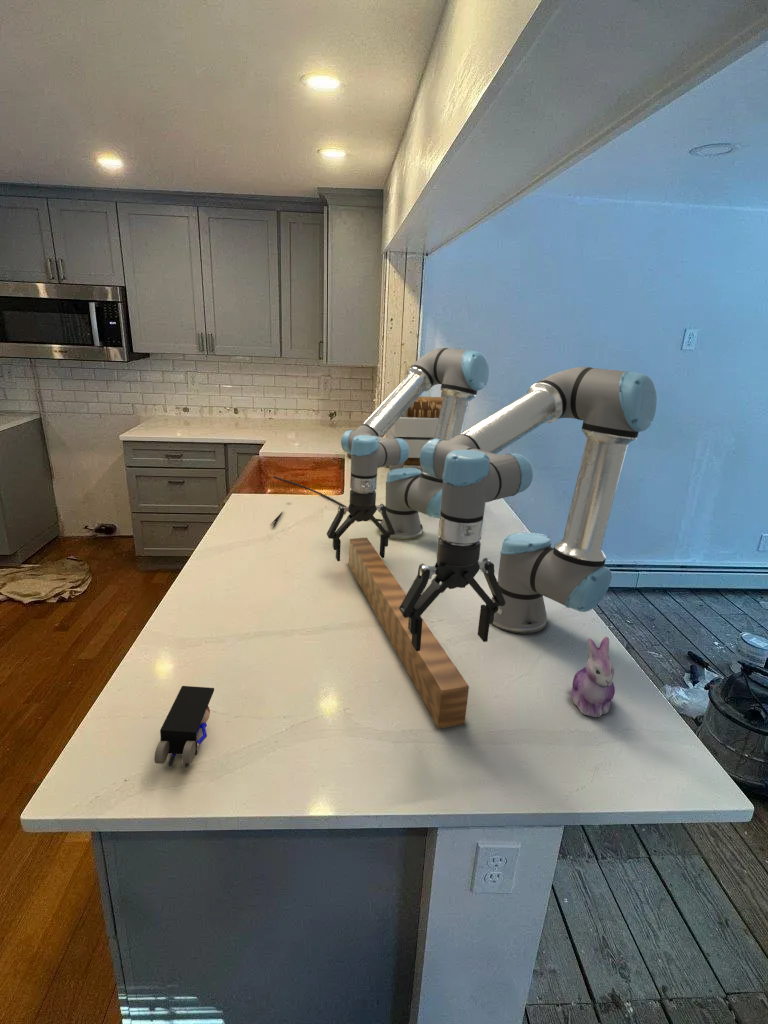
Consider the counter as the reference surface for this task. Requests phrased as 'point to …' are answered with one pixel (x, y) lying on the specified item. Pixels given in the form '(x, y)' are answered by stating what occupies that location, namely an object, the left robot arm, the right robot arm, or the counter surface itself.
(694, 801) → the counter surface
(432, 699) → the post
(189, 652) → the counter surface
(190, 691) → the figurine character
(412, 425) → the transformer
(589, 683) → the figurine
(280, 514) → the feather
